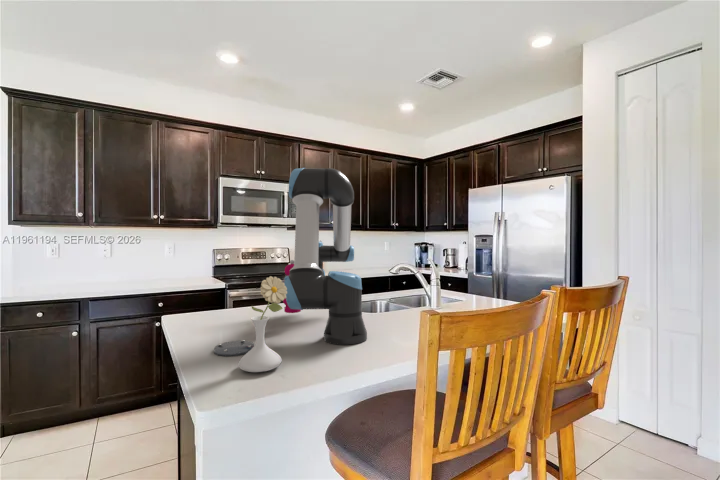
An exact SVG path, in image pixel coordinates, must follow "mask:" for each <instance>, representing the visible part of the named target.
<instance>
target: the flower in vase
mask: <svg viewBox="0 0 720 480" xmlns="http://www.w3.org/2000/svg"><path fill="white" fill-rule="evenodd" d="M280 279H281V278H279V277H277V276H271V275H270V276H269V277H266V278H265V279H263V280H262V281H261V284H260V295H262V298H264V300H265V301H266V302H268V303H267V305H266V307H265V309H264V310H263V309H260V308H257V307H255V306H253V305H251V309H252V310H253V311H255V312H259V313H262V315H256V316H255V315H254V316H252V317H250V320H251V322H252V323H253V327H254V332H255V343H254V347H253V348H252V349H251V350H250V351H249V352H248V353H246V354H243V355H242V357H241V358H240V360H239V362H238V364H237V365H238V367H239V369H240V370H242V371H244V372H249V373H263V372H267V371H268V372H269V371H271V370H274V369H276V368H277V367H279V366H280V365H281V363H282V357H281V355H279V354H278V353H277V352H276V351H274V350H273V349H271V348H270V347H269V346H268V345H267V344H266V342H265V332H266V331H265V330H266V325H267V322H268V320H269V319H270V316H267V315H265V313H266V311H267V310H268V309H269V310H270V311H271V312H273V313H277V312H280V311H281V310H283V306H282V305H280V303H281V302H283V300H284V299H285V298H286V294H287V291H286V290H287V288H286V286H284V285H285V284H284V283H282V280H280ZM270 303H271V304H270Z"/></svg>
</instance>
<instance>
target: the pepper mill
mask: <svg viewBox="0 0 720 480" xmlns="http://www.w3.org/2000/svg"><path fill="white" fill-rule="evenodd" d="M293 267H294V259H291V260H290V261H289V264H287V265H286V266H285V267H284V275H285V276H289V274H290V270H291V269H292V268H293ZM282 302H283V304H284V305H285V306H284V313H286V314H287V313H288V314H299V313H300V312H301V311H302V310H298V309H291V308H289V306H288V304H287V301H286V298H285V299H284V300H283V301H282Z"/></svg>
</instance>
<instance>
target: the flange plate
mask: <svg viewBox="0 0 720 480" xmlns="http://www.w3.org/2000/svg"><path fill="white" fill-rule="evenodd" d="M254 346H255V343H254V342H253V341H249V340H245V339H241V340H232V341H226V342H223V343H218V344H217V345H216V346H214V348H213V349H214V350H213V353H214V355H216V356H217V357H238V356H244V355H245V354H246V353H248V352H249V351H250V350H251V349H252V348H253V347H254Z"/></svg>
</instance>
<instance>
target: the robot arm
mask: <svg viewBox="0 0 720 480" xmlns="http://www.w3.org/2000/svg"><path fill="white" fill-rule="evenodd" d="M288 197H289V199H292V203H293V204H294V205H295V207H296V208H295V209H296V210H295V231H294V233H295V235H294V237H295V238H294V259H293V260H294V267H293V268H292V269H291V270H290V274H289V276H287V275H285V276H284V277H282V278H279V279H280V280H282V283H284V284H285V285H284V286H286V288H287V290H286V291H287V294H286V301H287V304H288V306H289V308H291V309H298V310H301V311H304V310H328V318H327V321H326V326H325V327H324V331H323V340H324V342H326V343H329V344H333V345H344V346H345V345H354V344H355V345H356V344H361V343H364V342H365V341H367V339H368V331H367V328H366V325H365V321H364V319H363V305H362V304H363V299H362V297H363V296H362V295H363V293H362V290H363V285H362V278H361V276H360V275H359V274H356V273H353V272H347V271H339V270H336V271H335V270H331V271H328V273H327V275H326V272H325V270H324V264H323V263H328V262H332V263H337V262H338V263H347V262H353V261H354V260H355V247H354V246H353V245H351V231H352V230H351V227H352V225H351V224H352V205H353V204H354V201H355V191H354V187H353V185H352V182H351V181H350V180H349V178H348V177H347V176H346V174H344V172H341V170H339V169H335V168H332V167H330V168H329V167H328V168H325V167H324V168H320V167H319V168H318V167H315V168H311V167H310V168H306V167H301V168H298V167H297V168H294V169H293V170H292V171H291V172H290V176H289V181H288ZM324 199H325V200H327V199H329V200H330V204H331V205H332V222H333V223H332V225H333V229H332V230H333V231H332V232H333V237H332V238H333V245H324V244H323V243H324V242H322V241H320V240H319V239H320V231H319V230H320V207H321V206H322V205H323V203H324Z"/></svg>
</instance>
